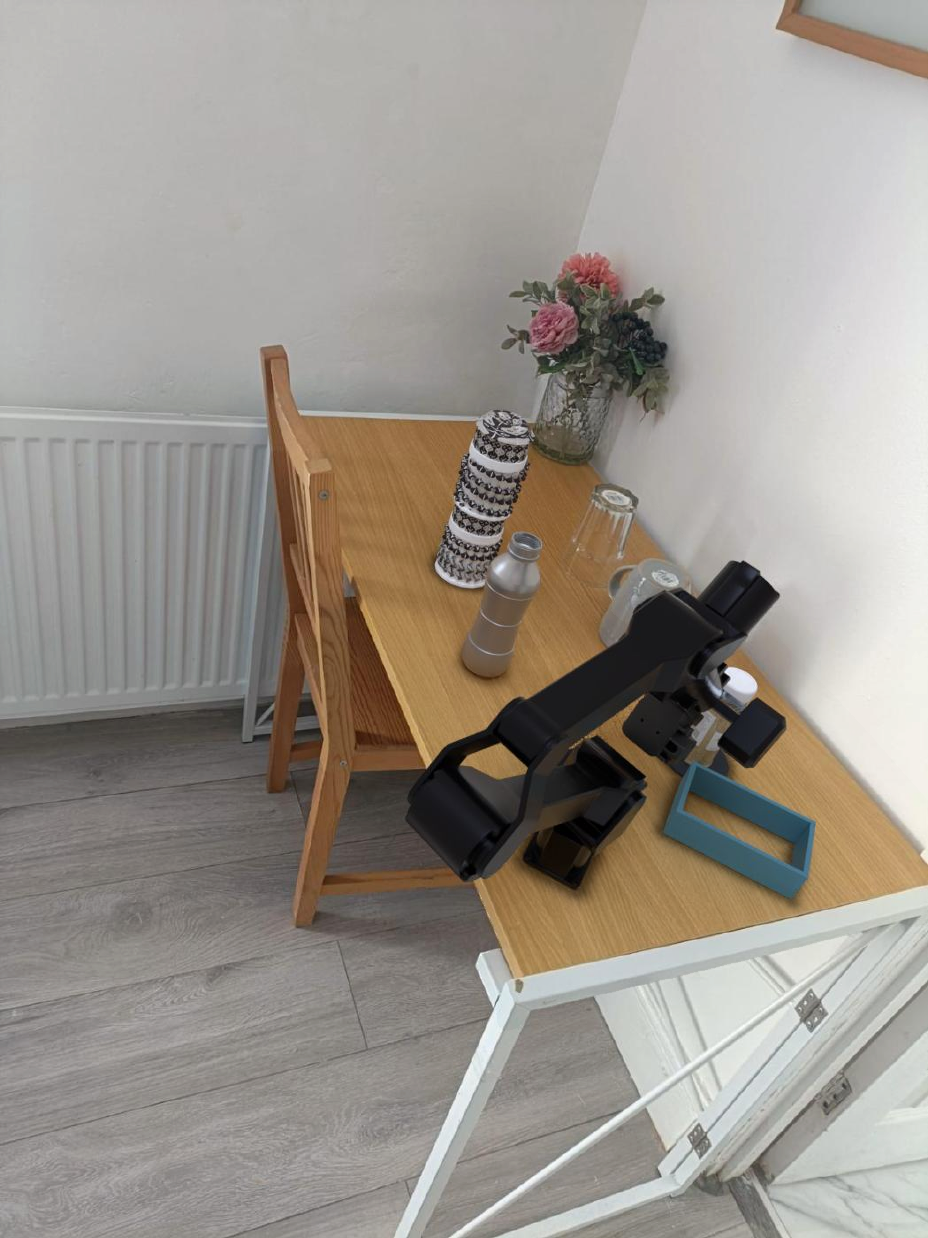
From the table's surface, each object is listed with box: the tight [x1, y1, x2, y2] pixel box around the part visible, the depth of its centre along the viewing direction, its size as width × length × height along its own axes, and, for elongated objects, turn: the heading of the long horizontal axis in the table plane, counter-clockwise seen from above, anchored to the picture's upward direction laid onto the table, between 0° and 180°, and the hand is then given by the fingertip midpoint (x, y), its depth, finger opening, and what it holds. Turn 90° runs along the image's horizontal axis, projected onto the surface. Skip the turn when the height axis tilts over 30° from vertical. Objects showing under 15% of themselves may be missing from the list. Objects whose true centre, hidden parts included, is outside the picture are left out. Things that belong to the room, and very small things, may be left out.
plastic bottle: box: [460, 531, 543, 678], centre depth 108 cm, size 6×7×20 cm
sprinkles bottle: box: [684, 666, 758, 768], centre depth 106 cm, size 5×5×13 cm
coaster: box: [668, 748, 730, 778], centre depth 110 cm, size 9×9×1 cm
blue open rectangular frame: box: [662, 761, 817, 900], centre depth 100 cm, size 9×15×4 cm, turn 66°
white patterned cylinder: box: [434, 409, 536, 589], centre depth 122 cm, size 9×9×25 cm
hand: (701, 708), depth 98 cm, fingers open, 9 cm apart
